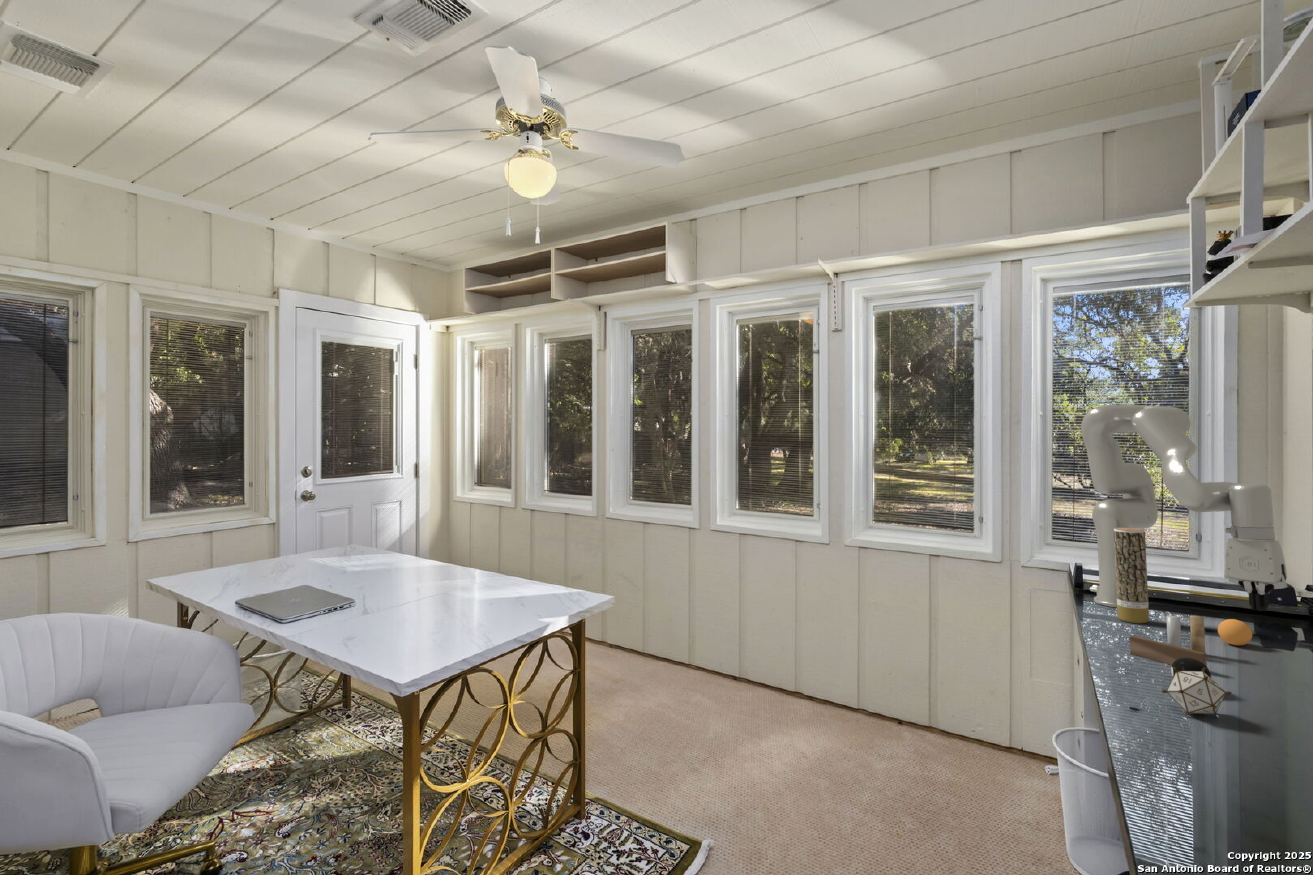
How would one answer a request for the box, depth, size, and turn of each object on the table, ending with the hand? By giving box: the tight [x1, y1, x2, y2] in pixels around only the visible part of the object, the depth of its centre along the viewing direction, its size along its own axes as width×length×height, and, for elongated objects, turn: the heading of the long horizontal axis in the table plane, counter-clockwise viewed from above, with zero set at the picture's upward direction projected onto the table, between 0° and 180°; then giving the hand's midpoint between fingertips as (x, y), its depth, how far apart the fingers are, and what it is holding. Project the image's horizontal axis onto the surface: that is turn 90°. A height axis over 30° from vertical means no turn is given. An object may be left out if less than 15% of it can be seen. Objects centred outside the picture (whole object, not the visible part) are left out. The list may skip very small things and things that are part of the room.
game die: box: [1160, 667, 1233, 716], centre depth 111 cm, size 9×8×10 cm
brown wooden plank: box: [1129, 635, 1208, 667], centre depth 136 cm, size 2×14×4 cm, turn 23°
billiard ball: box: [1170, 658, 1212, 679], centre depth 122 cm, size 6×6×6 cm
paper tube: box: [1114, 528, 1150, 624], centre depth 168 cm, size 7×7×25 cm
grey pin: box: [1166, 615, 1182, 647], centre depth 142 cm, size 2×2×8 cm
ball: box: [1217, 618, 1253, 646], centre depth 147 cm, size 6×6×6 cm
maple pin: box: [1189, 615, 1206, 653], centre depth 141 cm, size 2×2×8 cm
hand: (1259, 609), depth 150 cm, fingers closed
